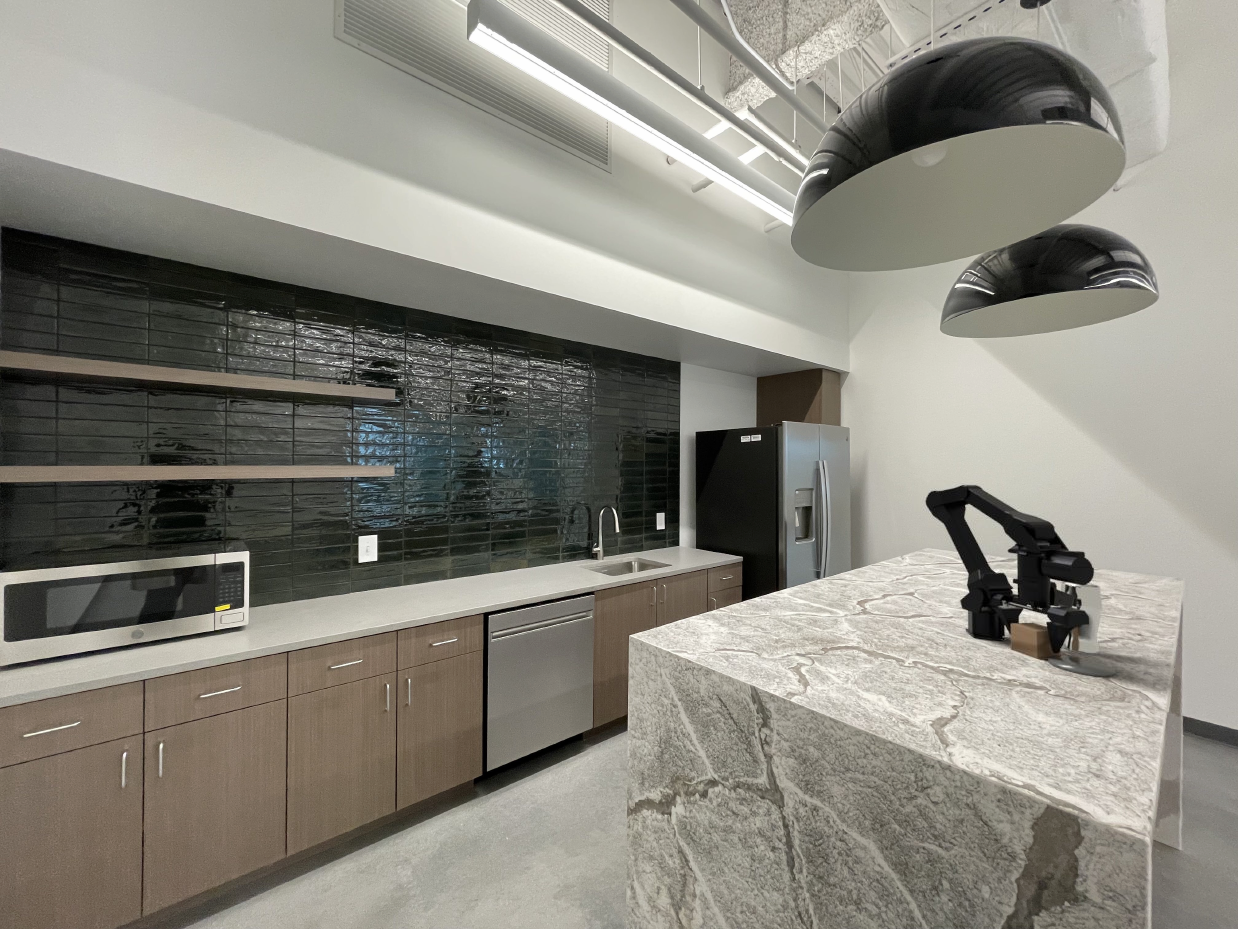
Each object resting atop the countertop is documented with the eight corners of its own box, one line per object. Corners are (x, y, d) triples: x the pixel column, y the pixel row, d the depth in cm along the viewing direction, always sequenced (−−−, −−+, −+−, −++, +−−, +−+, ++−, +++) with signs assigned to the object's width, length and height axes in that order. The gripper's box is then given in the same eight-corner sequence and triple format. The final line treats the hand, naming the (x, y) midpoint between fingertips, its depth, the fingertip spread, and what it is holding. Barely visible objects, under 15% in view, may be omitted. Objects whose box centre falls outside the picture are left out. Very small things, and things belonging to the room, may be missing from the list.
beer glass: (1098, 658, 108) (1097, 588, 109) (1057, 649, 114) (1055, 583, 114) (1106, 652, 112) (1104, 585, 113) (1065, 643, 118) (1064, 580, 118)
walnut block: (1037, 659, 107) (1036, 631, 108) (1011, 650, 113) (1010, 623, 114) (1060, 658, 108) (1059, 630, 109) (1033, 648, 114) (1033, 622, 115)
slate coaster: (1063, 672, 100) (1063, 669, 100) (1039, 656, 109) (1039, 653, 109) (1127, 679, 96) (1126, 676, 96) (1096, 662, 106) (1096, 659, 106)
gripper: (1110, 583, 104) (1112, 659, 103) (1024, 568, 122) (1025, 632, 122) (1065, 585, 102) (1067, 662, 101) (984, 568, 120) (985, 634, 120)
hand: (1034, 646), depth 111 cm, fingers open, 9 cm apart
